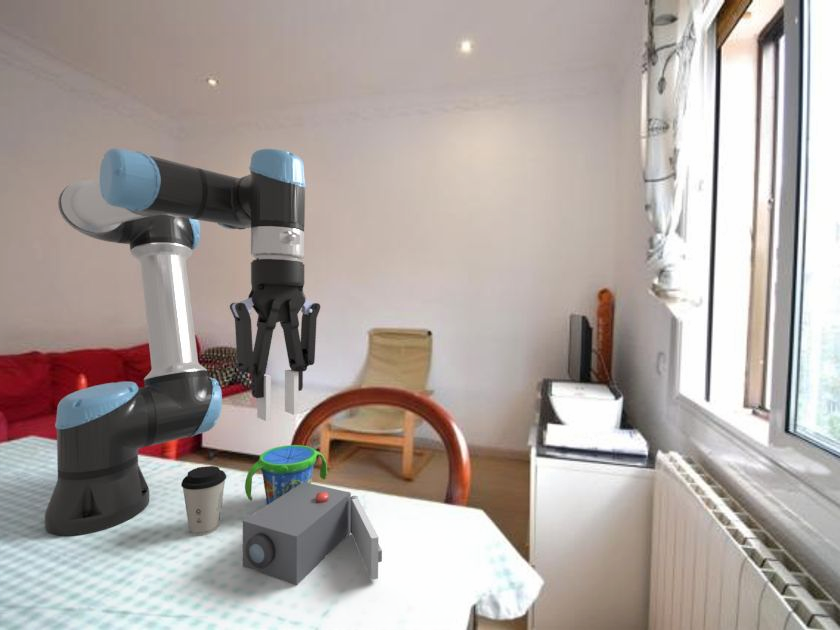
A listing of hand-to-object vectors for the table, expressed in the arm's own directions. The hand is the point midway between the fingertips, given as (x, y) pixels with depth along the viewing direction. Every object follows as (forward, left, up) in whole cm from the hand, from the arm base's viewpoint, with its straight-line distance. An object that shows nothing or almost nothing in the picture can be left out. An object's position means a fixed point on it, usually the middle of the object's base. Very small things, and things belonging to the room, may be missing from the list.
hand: (278, 415), depth 60 cm
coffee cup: (-18, +2, -23) cm, 29 cm away
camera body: (+1, +4, -23) cm, 23 cm away
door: (+11, +6, -22) cm, 26 cm away
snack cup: (-10, +14, -23) cm, 29 cm away
